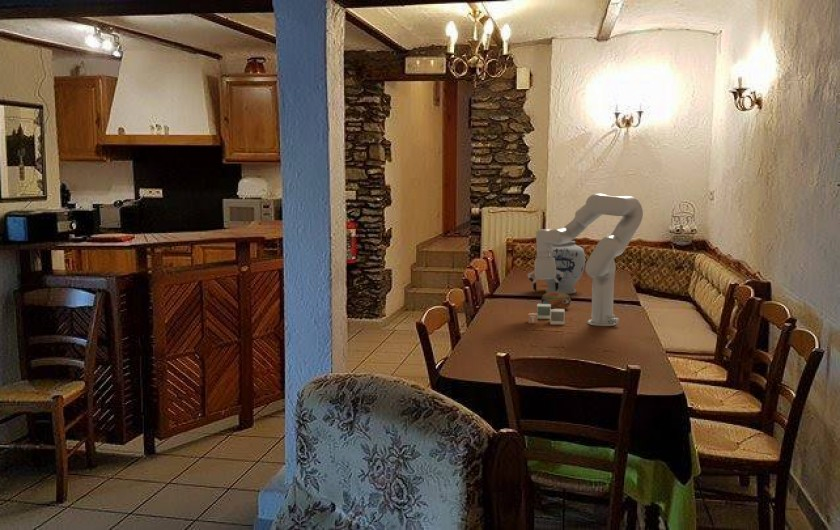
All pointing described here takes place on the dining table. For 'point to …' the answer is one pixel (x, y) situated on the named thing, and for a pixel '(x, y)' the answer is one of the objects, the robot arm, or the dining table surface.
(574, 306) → the dining table surface
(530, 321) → the letter block
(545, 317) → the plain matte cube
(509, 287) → the dining table surface
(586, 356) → the dining table surface
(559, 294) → the tin
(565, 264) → the apothecary jar
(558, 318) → the cream cube
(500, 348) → the dining table surface
